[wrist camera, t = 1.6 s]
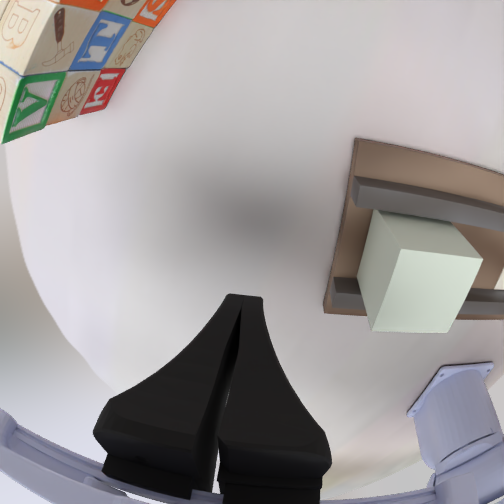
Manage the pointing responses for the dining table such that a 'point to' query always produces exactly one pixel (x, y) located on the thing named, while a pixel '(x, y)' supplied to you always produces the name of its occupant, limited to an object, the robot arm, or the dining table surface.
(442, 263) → the sage block
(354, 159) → the chute
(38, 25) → the stack of blocks
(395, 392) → the dining table surface
